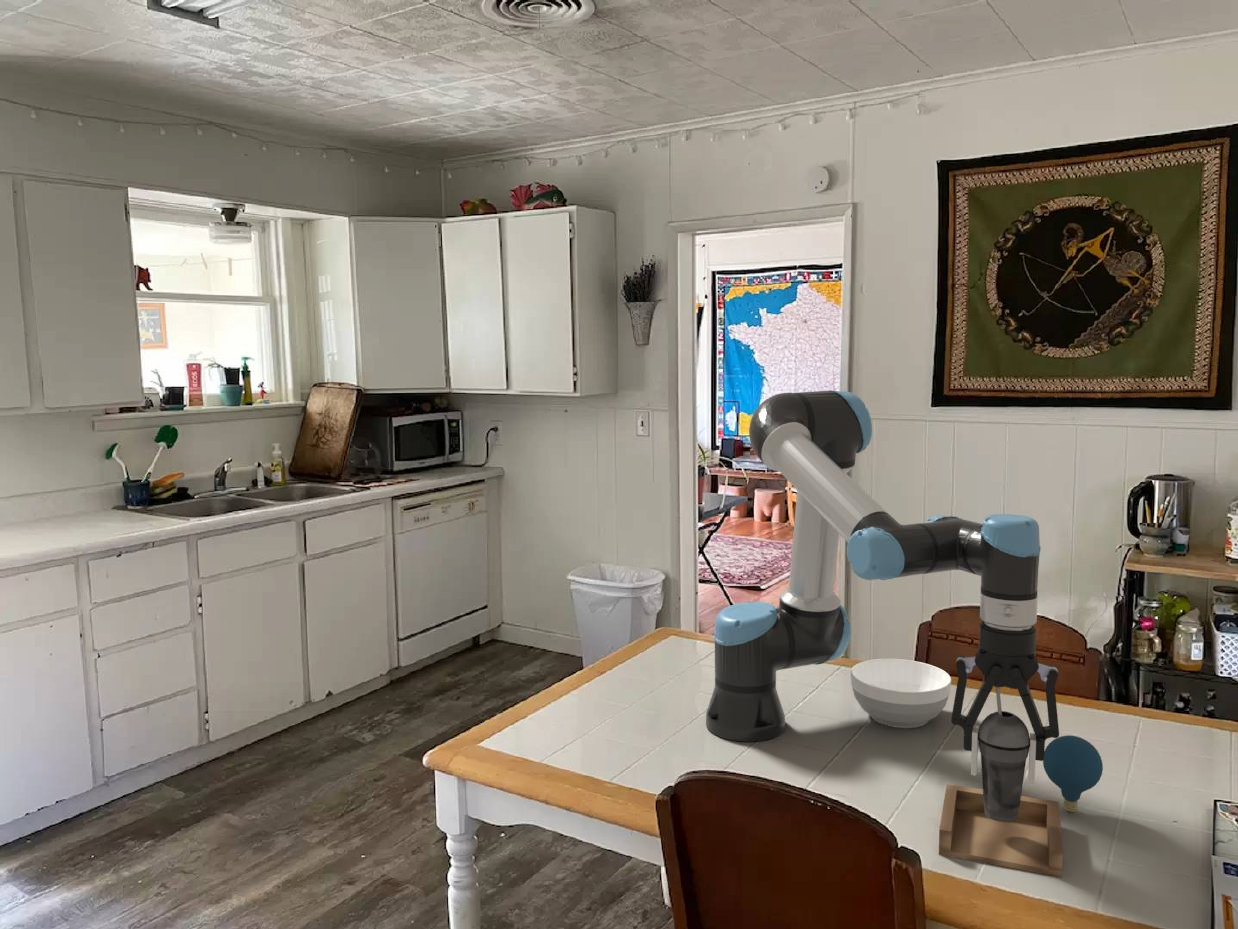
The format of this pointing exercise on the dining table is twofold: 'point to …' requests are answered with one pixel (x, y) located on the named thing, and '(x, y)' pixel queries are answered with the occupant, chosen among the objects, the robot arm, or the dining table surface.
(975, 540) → the robot arm
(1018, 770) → the beverage cup
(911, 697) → the bowl
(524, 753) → the dining table surface
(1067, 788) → the light bulb
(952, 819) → the u rest
